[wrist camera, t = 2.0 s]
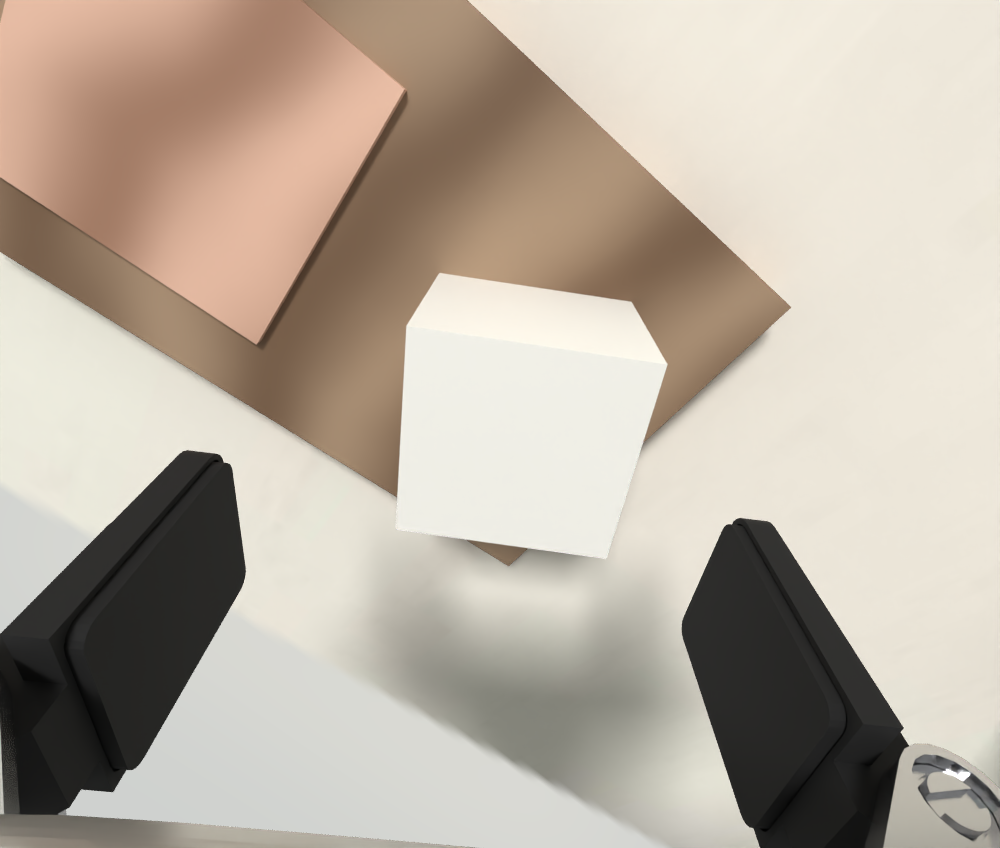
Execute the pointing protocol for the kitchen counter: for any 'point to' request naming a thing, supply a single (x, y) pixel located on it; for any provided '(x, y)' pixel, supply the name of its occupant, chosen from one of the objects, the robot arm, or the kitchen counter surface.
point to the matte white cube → (522, 414)
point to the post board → (333, 198)
